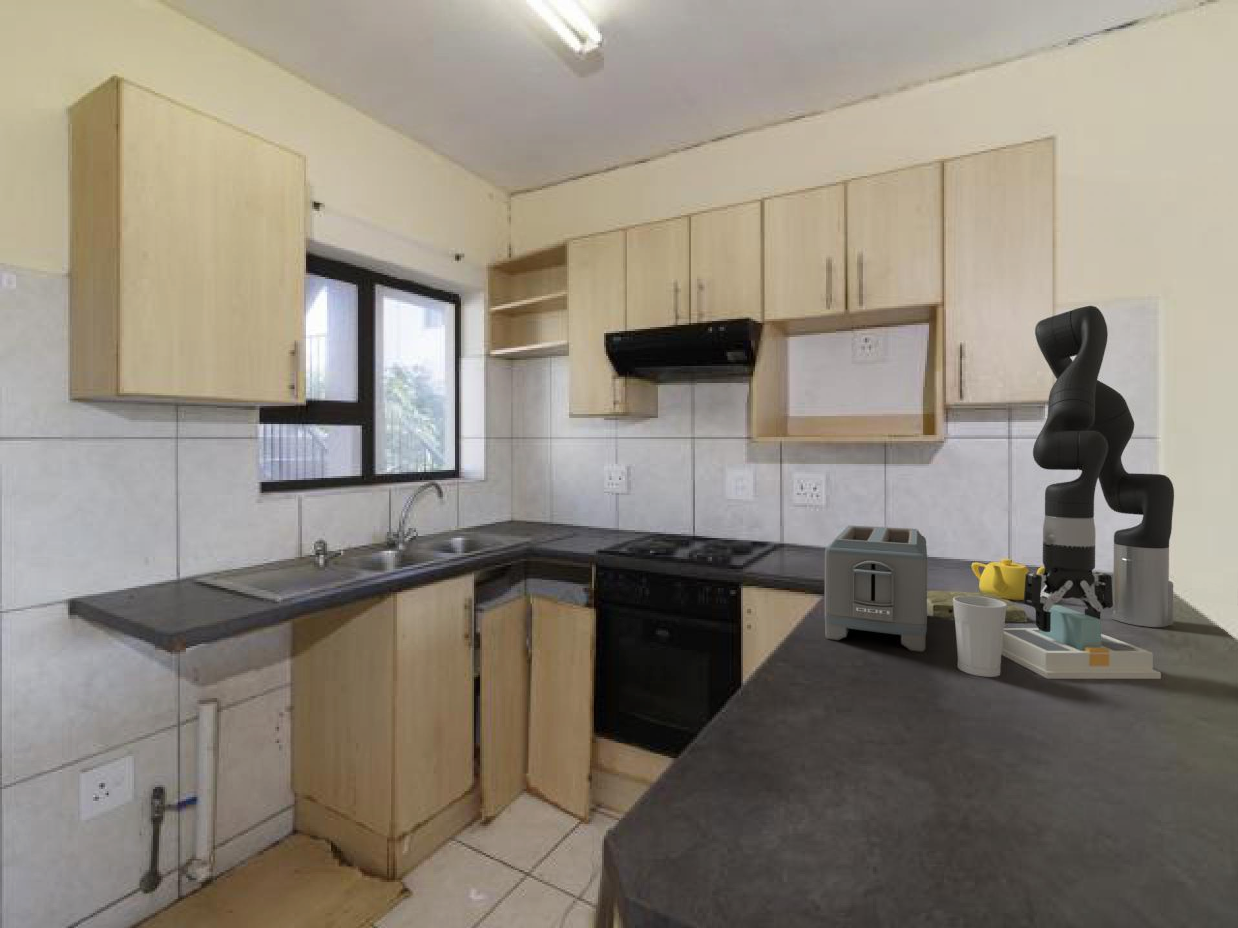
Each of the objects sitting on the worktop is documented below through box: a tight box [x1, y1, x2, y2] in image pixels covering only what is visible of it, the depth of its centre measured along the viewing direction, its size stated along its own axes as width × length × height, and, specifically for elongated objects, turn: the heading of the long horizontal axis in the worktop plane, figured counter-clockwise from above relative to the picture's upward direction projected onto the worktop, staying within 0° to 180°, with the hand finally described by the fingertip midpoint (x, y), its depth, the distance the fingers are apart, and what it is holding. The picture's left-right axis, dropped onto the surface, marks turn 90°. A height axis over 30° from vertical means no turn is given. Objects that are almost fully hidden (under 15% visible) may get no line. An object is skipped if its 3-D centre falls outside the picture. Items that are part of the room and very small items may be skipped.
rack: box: [1001, 627, 1162, 680], centre depth 105 cm, size 19×16×5 cm
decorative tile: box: [927, 590, 1028, 623], centre depth 140 cm, size 19×20×4 cm
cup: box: [953, 596, 1007, 678], centre depth 101 cm, size 8×8×12 cm
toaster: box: [824, 524, 928, 653], centre depth 125 cm, size 19×33×20 cm, turn 153°
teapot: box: [971, 558, 1045, 601], centre depth 154 cm, size 14×13×10 cm
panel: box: [1039, 604, 1103, 651], centre depth 105 cm, size 4×10×8 cm, turn 0°
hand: (1067, 630), depth 105 cm, fingers open, 8 cm apart
